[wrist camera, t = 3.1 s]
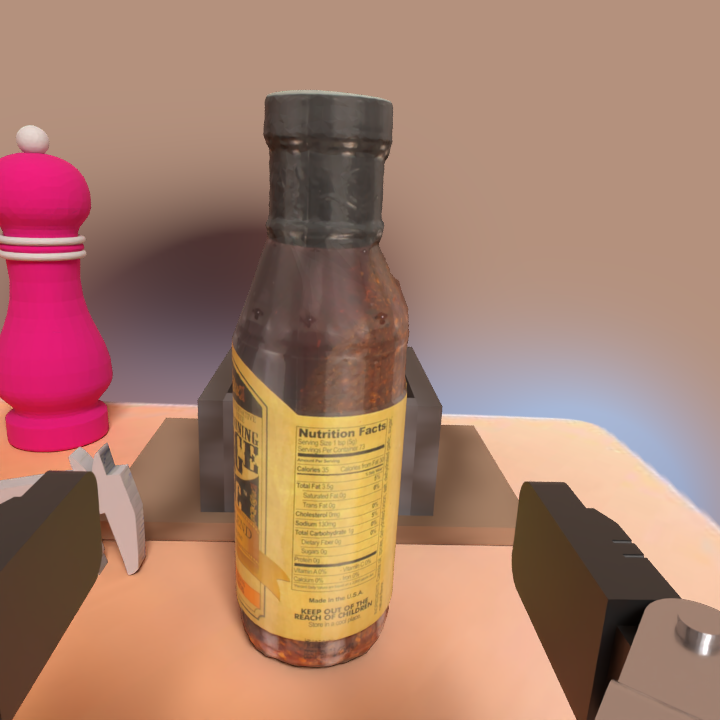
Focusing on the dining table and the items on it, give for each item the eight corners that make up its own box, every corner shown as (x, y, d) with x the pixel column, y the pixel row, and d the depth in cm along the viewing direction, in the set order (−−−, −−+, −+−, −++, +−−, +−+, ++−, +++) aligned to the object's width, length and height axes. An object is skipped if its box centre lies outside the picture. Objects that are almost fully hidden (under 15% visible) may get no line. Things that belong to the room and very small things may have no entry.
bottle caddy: (92, 539, 30) (81, 404, 28) (166, 431, 43) (162, 335, 42) (532, 545, 31) (550, 417, 29) (472, 438, 45) (481, 345, 43)
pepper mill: (66, 463, 38) (35, 118, 33) (-28, 446, 40) (-72, 117, 34) (137, 423, 45) (121, 132, 39) (54, 410, 46) (28, 130, 41)
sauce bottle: (255, 570, 28) (255, 108, 23) (391, 581, 28) (423, 115, 23) (214, 679, 22) (201, 75, 17) (389, 695, 22) (431, 84, 16)
